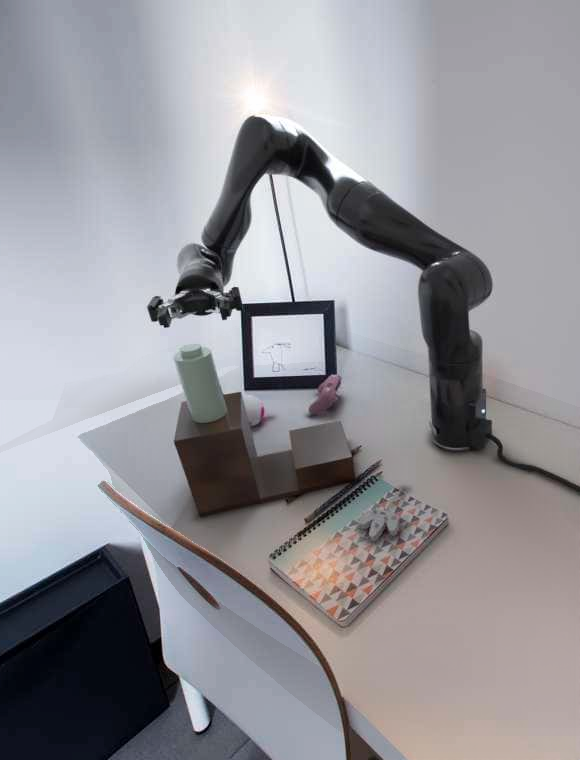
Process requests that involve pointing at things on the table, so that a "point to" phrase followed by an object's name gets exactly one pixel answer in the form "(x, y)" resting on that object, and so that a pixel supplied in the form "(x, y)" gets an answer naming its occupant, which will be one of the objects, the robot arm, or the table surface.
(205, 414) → the green knobbed cylinder
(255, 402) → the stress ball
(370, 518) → the grey lobed piece
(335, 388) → the pink lumpy piece
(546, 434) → the table surface
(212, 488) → the step shelf
